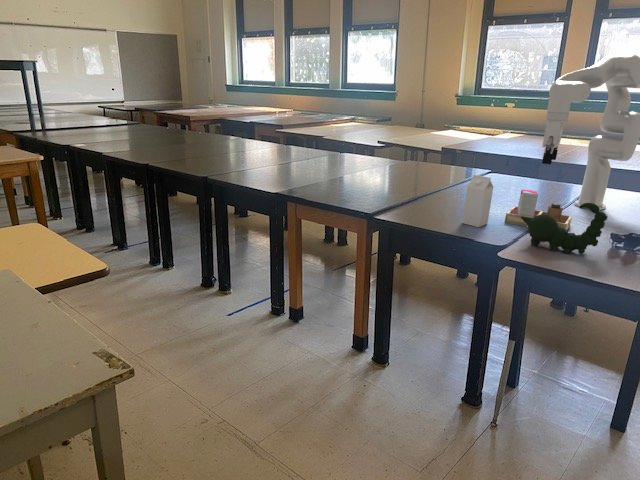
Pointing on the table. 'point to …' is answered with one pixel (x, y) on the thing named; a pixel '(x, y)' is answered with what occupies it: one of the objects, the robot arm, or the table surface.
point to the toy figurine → (565, 231)
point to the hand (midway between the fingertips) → (549, 161)
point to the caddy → (553, 211)
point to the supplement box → (527, 203)
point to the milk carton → (478, 201)
